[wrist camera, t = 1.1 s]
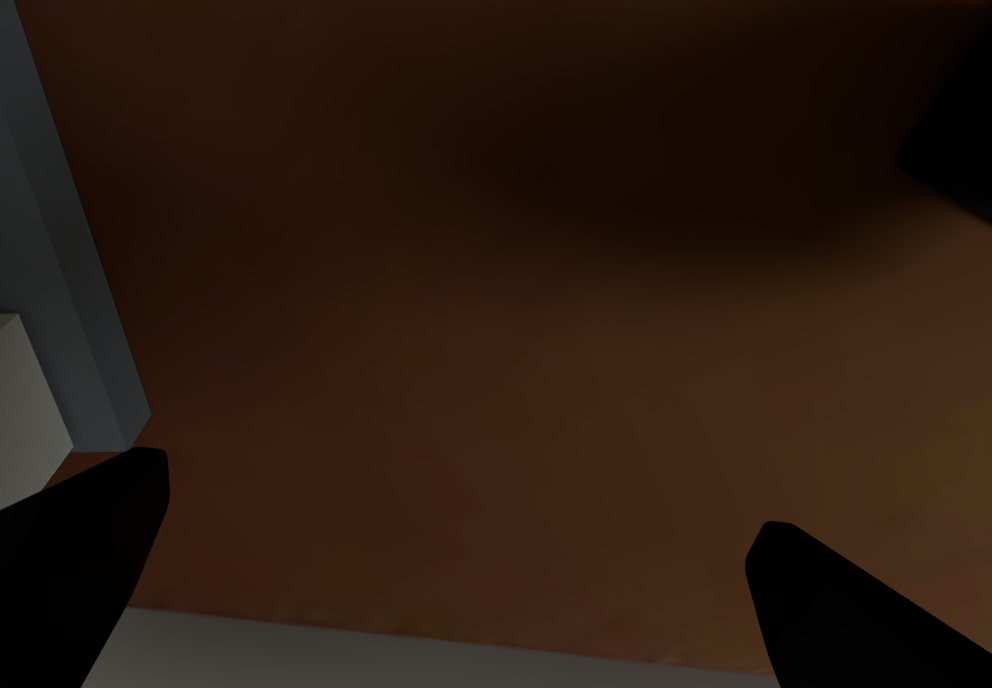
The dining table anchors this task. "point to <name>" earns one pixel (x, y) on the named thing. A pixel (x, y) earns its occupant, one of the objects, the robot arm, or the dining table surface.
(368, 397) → the dining table surface
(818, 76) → the dining table surface
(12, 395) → the button
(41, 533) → the robot arm
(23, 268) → the switch panel
